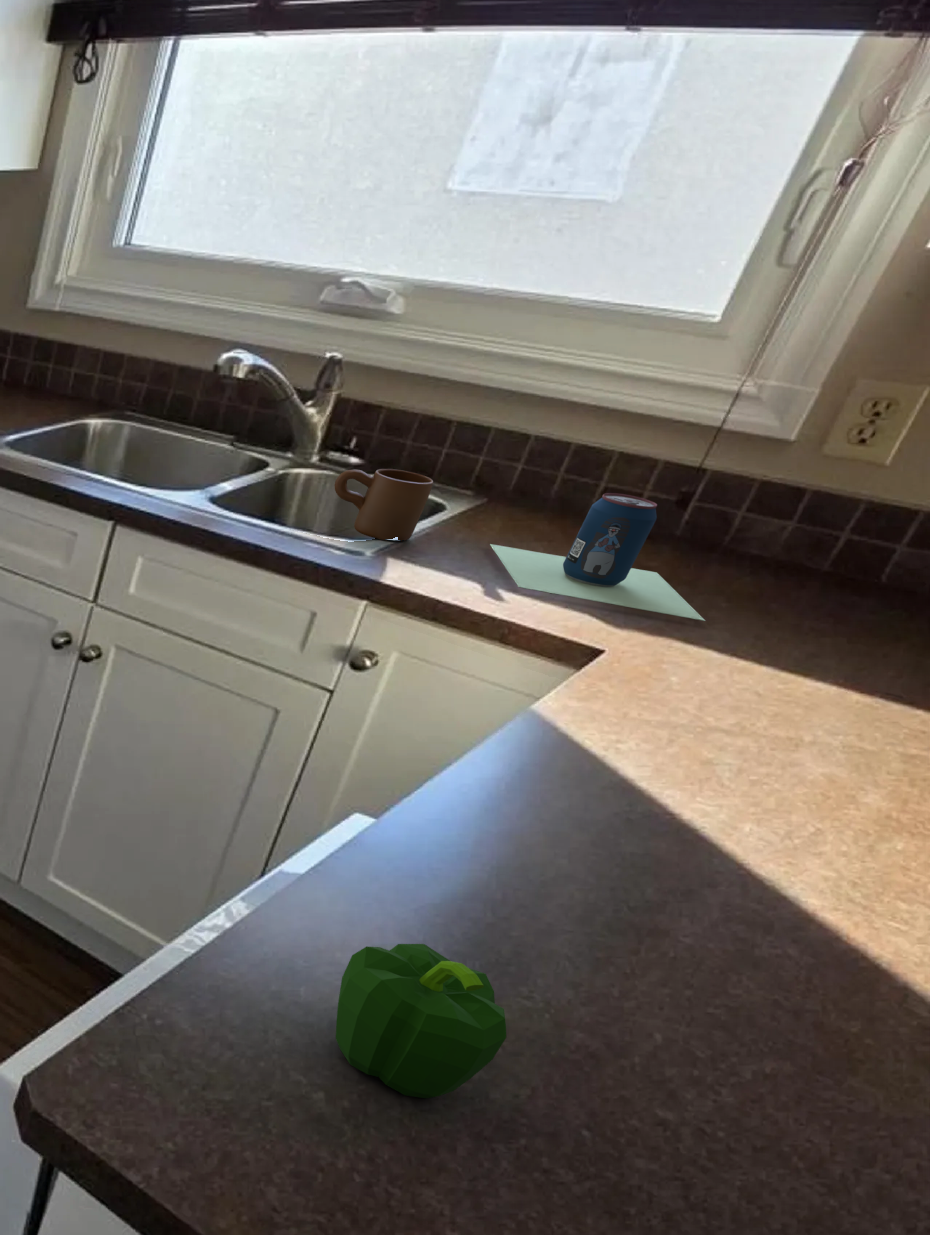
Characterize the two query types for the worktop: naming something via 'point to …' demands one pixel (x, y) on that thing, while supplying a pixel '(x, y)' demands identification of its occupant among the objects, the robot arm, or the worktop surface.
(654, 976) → the worktop surface
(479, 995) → the bell pepper
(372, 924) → the worktop surface
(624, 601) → the mat
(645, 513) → the soda can
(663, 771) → the worktop surface
